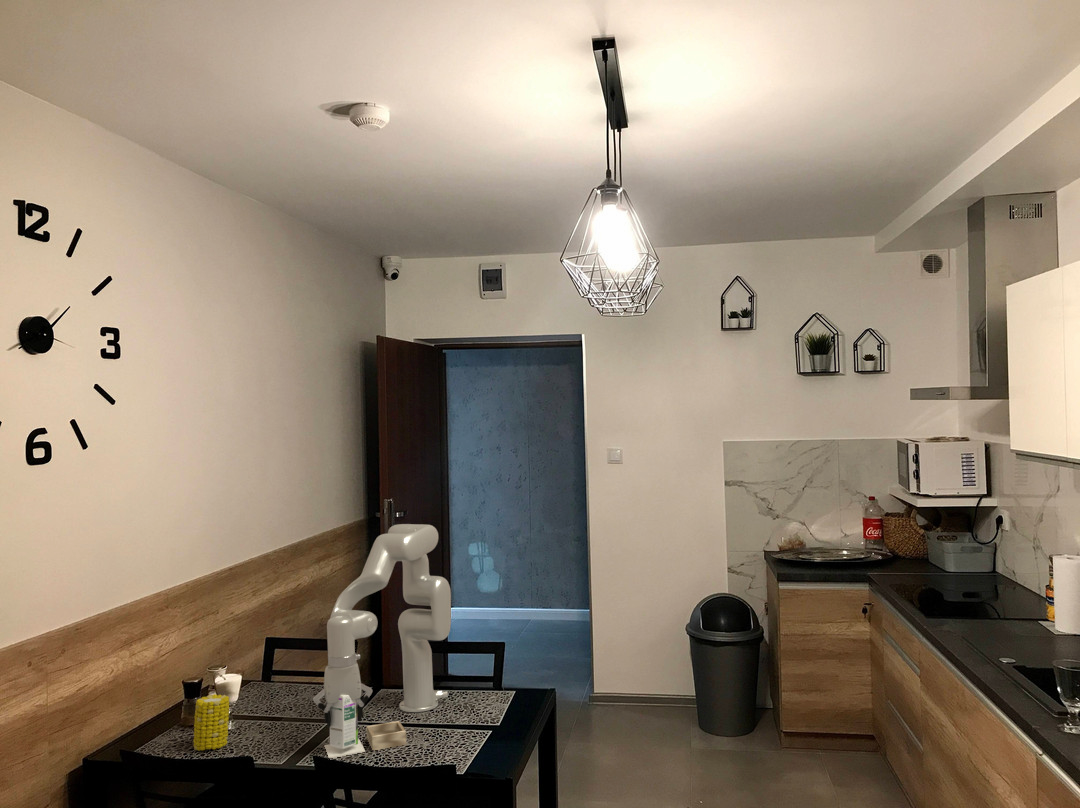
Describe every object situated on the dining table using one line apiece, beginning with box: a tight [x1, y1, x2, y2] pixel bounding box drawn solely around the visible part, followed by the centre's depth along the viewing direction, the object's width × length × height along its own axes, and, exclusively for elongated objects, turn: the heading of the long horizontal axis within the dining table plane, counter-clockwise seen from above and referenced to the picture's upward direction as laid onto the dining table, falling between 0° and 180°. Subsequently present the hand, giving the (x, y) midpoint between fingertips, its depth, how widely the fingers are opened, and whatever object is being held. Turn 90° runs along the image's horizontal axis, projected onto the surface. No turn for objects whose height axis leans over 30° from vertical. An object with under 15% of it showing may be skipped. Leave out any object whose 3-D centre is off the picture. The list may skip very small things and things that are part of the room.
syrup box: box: [329, 695, 359, 749], centre depth 237 cm, size 6×6×14 cm
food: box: [192, 693, 230, 751], centre depth 245 cm, size 15×12×10 cm
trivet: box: [323, 738, 366, 760], centre depth 237 cm, size 10×10×1 cm
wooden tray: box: [366, 720, 407, 751], centre depth 241 cm, size 10×10×4 cm
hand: (344, 722), depth 237 cm, fingers closed on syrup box, 8 cm apart
